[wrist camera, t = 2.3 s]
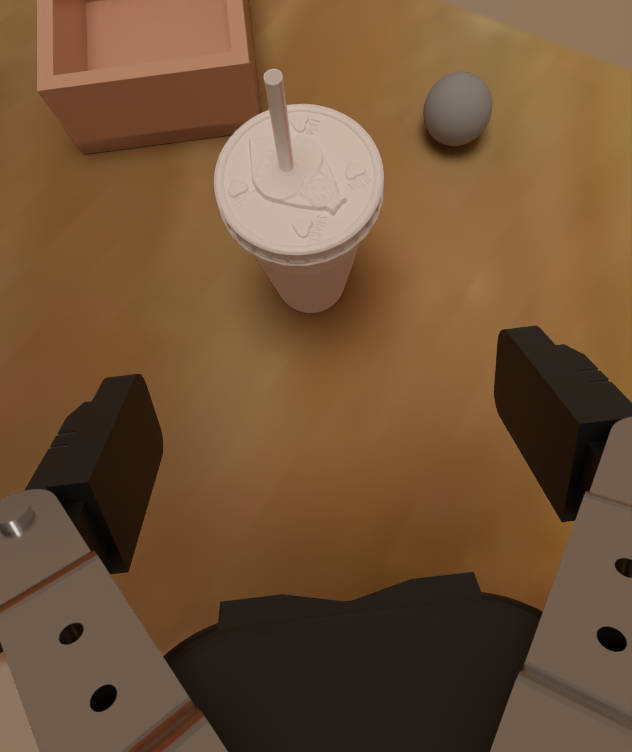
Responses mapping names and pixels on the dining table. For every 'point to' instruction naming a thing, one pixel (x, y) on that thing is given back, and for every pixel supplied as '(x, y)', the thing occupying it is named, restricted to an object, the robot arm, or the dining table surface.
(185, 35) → the pink square tray
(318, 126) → the smoothie
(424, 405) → the dining table surface
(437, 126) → the ball
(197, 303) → the dining table surface
